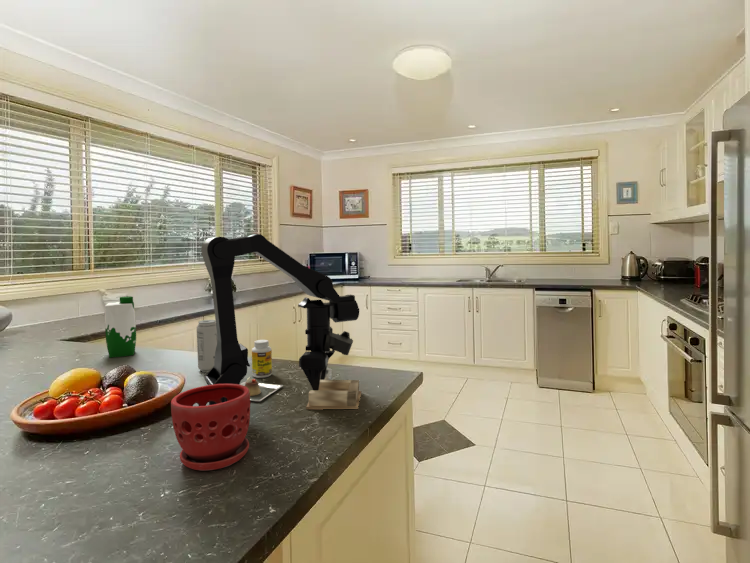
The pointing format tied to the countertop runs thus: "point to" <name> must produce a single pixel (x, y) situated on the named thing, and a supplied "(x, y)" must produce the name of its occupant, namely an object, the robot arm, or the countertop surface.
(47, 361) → the countertop surface
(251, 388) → the dessert
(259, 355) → the supplement bottle
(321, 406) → the cork mat
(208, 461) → the plant pot
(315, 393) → the c link
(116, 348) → the milk carton
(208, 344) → the energy drink can
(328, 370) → the steel post
